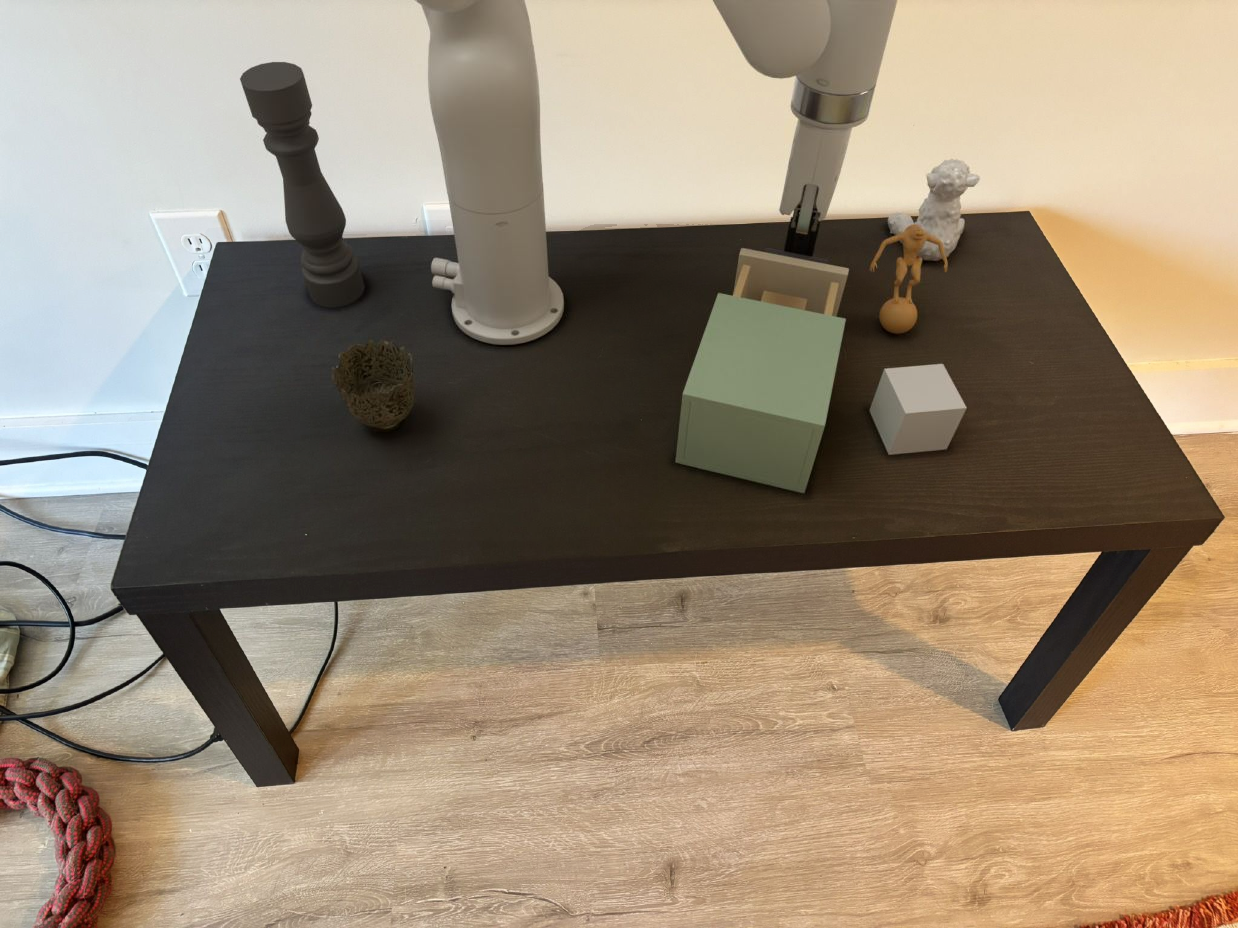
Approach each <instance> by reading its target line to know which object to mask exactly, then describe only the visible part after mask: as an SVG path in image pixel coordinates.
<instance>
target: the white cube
mask: <svg viewBox="0 0 1238 928" xmlns="http://www.w3.org/2000/svg"><path fill="white" fill-rule="evenodd" d="M882 371H883V372H882V374H881V376H880V379H879V383H878V385H877V388H876V391H875V394H874V397H873V399H872V402H871V405H870V408H869V414H870V415H871V418H872V420H873V423H874V425H875V428H876V429H877V432H878V434H879V436H880V439H881V441H882V443H883V445H884V447H885V450H886V452H887V454H888V456H890V455H900V454H902V455H903V454H912V453H913V454H914V453H922V452H932V451H943V450H947V449H948V447H949V445H950V443H951V441H952V439H953V437H954V435H955V433H956V431H957V429H958V427H959V424H960V423H961V420H962V418H963V417H964V415H965V413H966V411H967V406H966V404H965V402H964V400H963V398H962V396H961V395H960V393H959V391H958V389H957V387H956V386H955V384H954V382H953V380H952V378H951V376H950V374H949V373H948V371H947V368H946V367H945V365H944V363H937V364H936V363H935V364H924V365H911V366H901V367H887V368H884V369H883V370H882Z"/></svg>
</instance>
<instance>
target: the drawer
mask: <svg viewBox="0 0 1238 928" xmlns="http://www.w3.org/2000/svg"><path fill="white" fill-rule="evenodd" d="M828 263H829V259H827V258H822V257H816V256H806V255H801V254H796V253H791V252H786V251H784V250H779V249H774V248H769V247H765V248H764V251H761V250H755V249H750V248H745V247H741V248H740V251H739V253H738V261H737V266H736V274H735V281H734V285H733V293H732V296H736V297H741V298H746V299H751V300H756V301H761V299H762V295H763V292H764V291H769V292H774V293H779V294H784V295H789V296H794V297H799V298H804V299H807V304H806V308H805V311H810V312H815V313H820V314H825V315H830V316H835V317H838V311H839V308H840V305H841V301H842V298H843V294H844V292H845V291H844V290H845V287H846V283H847V280H848V276H849V271H850V268H848V267H844V266H838V265H833V264H828Z"/></svg>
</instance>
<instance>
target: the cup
mask: <svg viewBox="0 0 1238 928" xmlns="http://www.w3.org/2000/svg"><path fill="white" fill-rule="evenodd" d="M337 358H338V362H339V364H338V365H336V368H335V367H331V368H330V372H331V373H330V374H331V375H332V376H331V380H332V382H333V384H334V385H335V387H336V389H337V391H338V393H339V395H340V397H341V399H342V401H343V403H344V405H345V406H346V408H347V409H348V411H349V412H350V414H351V415H352V416H353V417H354V418H355V419H356V420H357V421H358V422H359V423H362V424H363V425H365V426H368V427H370V428H371V429H372V430H373V431H374V432H376V433H379V434H383V435H388V434H393V433H396V432H398V431H399V430H401V428H402V427H403V426H404V424H405V422H406V419H407V418H406V417H408V415H409V414H410V413H411V411H412V409H413V406H414V404H415V397H416V396H415V395H416V389H415V388H416V387H415V386H416V385H415V374H414V363H413V356H412V353H408V352H407V350H406V347H405V346H402V347H401V348H399V346H397V344H396V343H395V342H394V341H392V340H391V341H390V342H388V341H386V339H381V340H380V342H379V343H378V344H377V345H376V344H375V343H374V341H373V340H372V339H369V340H368V341H367V342H366V344H365V345H362V344H361V343H360V344H359V343H352V344H351V345H350V346H349V347H348V348H347V351H346V352H344V351H340V352H339V353H338V355H337Z"/></svg>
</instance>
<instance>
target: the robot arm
mask: <svg viewBox="0 0 1238 928" xmlns="http://www.w3.org/2000/svg"><path fill="white" fill-rule="evenodd" d="M414 1H415V2H416V3H417V4H419V5H421V8H422V11H423V13H424V16H425V19H426V22H427V26H428V29H429V42H428V53H427V54H428V57H427V88H428V99H429V106H430V110H431V116H432V121H433V125H434V129H435V134H436V138H437V144H438V148H439V152H440V158H441V165H442V169H443V176H444V177H443V178H444V184H445V188H446V194H447V199H448V204H449V205H448V206H449V212H450V217H451V218H450V219H451V223H452V230H453V235H454V243H455V249H456V256H457V261H458V262H455V261H452V260H450V259H446V258H440V257H434V258H433V259H432V261H431V265H430V272H431V274H432V275H434V276H433V278H432V281H431V284H432V287H433V288H434V289H440V290H446V291H447V290H448V291H450V292H451V293H452V294H453V296H452V299H451V313H452V318H453V321H454V322H455V324H456V325H457V327H458V328H459V330H461V332H463V334H465V335H467V336H469V337H470V338H472V339H474V340H476V341H479V342H482V343H486V344H491V345H499V346H510V345H511V346H512V345H513V346H514V345H519V344H525V343H528V342H531V341H535V340H537V339H538V338H541V337H543V336H545V335H546V334H548V333H549V332H550V331H552V330H553V329H554V328H555V327H556V326H557V325H558V324H559V322H560V320H561V319H562V317H563V313H564V310H565V308H564V307H565V300H564V293H563V291H562V289H561V287H560V286H559V285H558V283H557V282H556V281H555V280H554V279H552V277H551V276H549V261H548V260H549V259H548V258H549V257H548V245H547V242H548V241H547V229H546V228H547V227H546V226H547V225H546V211H545V210H546V209H545V192H544V181H543V179H544V178H543V164H542V163H543V161H542V144H541V142H542V141H541V95H540V94H541V93H540V83H539V74H538V66H537V60H536V53H535V46H534V40H533V35H532V34H533V33H532V27H531V21H530V17H529V12H528V8H527V5H526V1H525V0H414ZM712 2H713V4H714V6H715V8H716V9H717V11H718V12H719V15H720V16H721V18H722V20H723V22H724V23H725V25H726V27H727V29H728V30H729V32H730V34H731V36H732V38H733V39H734V41H735V43H736V45H737V47H738V48H739V50H740V52H741V54H742V55H743V57H744V59H745V60H746V62H747V63H748V65H749V66H750V67H752V68H753V69H754V70H755V71H756V72H758V73H760V74H761V75H763V76H765V77H769V78H771V79H781V80H782V79H790V78H794V77H795V78H794V84H793V90H792V96H791V101H790V110H791V113H792V114H793V115H794V117H795V118H797V122H796V127H795V131H794V134H793V139H792V143H791V150H790V153H789V154H790V155H789V159H788V164H787V170H786V175H785V181H784V185H783V190H782V194H781V200H780V205H779V208H778V211H779V213H780V214H781V215H782V216H784V215H785V216H791V215H792V216H791V217H790V220H789V223H788V229H787V233H786V238H785V243H784V248H783V251H786V252H791V253H796V254H801V255H806V256H812V257H814V252H815V248H816V242H817V239H818V235H819V230H820V225H821V221H824V220H825V219H826V217H827V214H828V211H829V208H830V205H831V203H832V199H833V197H834V193H835V192H836V191H835V190H836V188H837V184H838V181H839V178H840V175H841V171H842V169H843V165H844V162H845V158H846V154H847V150H848V146H849V142H850V138H851V134H852V130H853V128H854V127H855V128H856V127H858V126H860V125H862V124H863V123H864V122H866V121H867V119H868V118H869V115H870V110H871V106H872V103H873V102H872V101H873V98H874V95H875V90H876V87H877V82H878V78H879V75H880V70H881V66H882V62H883V59H884V55H885V50H886V46H887V42H888V39H889V34H890V31H891V27H892V23H893V19H894V15H895V12H896V7H897V3H898V0H712ZM452 278H453V279H452Z"/></svg>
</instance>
